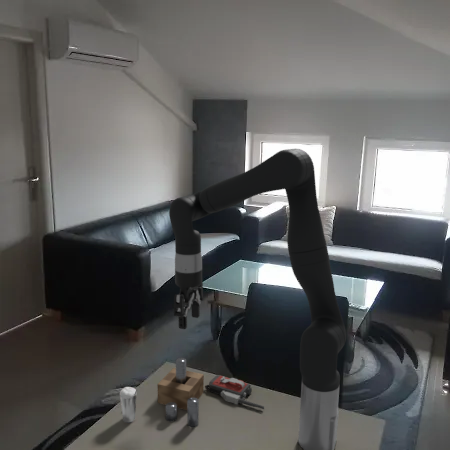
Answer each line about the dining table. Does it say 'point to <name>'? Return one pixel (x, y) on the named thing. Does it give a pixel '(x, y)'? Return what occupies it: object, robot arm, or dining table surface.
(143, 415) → the dining table surface
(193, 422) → the pin medium
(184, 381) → the pin long
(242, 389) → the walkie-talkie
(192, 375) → the hole block
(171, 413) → the pin short
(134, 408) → the milkshake
